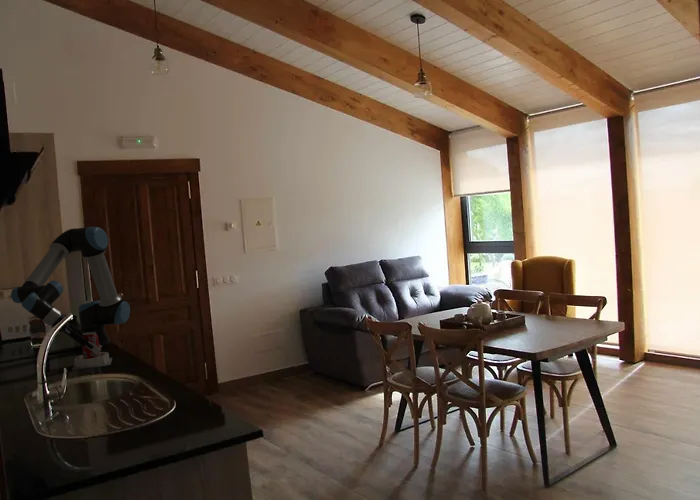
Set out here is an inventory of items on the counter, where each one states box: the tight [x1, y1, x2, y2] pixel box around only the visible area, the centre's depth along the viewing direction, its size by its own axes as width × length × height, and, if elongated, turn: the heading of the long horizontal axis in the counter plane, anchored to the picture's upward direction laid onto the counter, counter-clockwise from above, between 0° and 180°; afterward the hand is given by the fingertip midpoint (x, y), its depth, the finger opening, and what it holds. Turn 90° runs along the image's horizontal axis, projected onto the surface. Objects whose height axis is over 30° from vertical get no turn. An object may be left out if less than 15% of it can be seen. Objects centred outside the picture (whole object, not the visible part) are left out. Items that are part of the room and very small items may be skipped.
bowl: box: [74, 351, 110, 369], centre depth 276 cm, size 14×14×4 cm
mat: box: [71, 357, 113, 371], centre depth 277 cm, size 16×16×1 cm
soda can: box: [81, 332, 101, 359], centre depth 276 cm, size 7×7×12 cm
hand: (99, 350), depth 277 cm, fingers closed on soda can, 7 cm apart
